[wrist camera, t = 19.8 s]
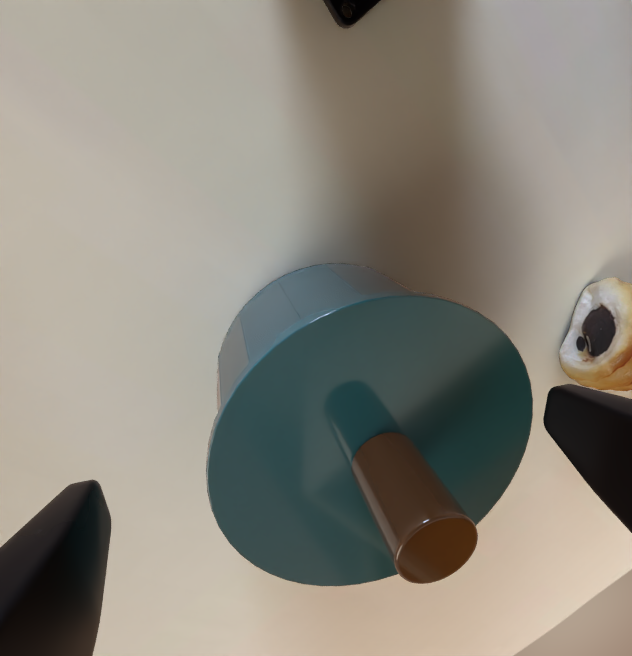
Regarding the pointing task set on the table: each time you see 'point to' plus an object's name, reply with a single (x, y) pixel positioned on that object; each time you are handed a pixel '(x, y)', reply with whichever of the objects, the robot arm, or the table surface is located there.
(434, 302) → the lid
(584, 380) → the pastry
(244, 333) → the pot
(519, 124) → the table surface
